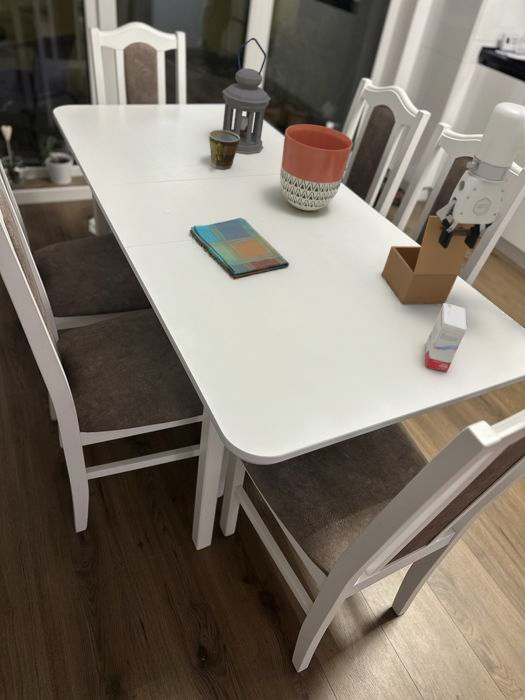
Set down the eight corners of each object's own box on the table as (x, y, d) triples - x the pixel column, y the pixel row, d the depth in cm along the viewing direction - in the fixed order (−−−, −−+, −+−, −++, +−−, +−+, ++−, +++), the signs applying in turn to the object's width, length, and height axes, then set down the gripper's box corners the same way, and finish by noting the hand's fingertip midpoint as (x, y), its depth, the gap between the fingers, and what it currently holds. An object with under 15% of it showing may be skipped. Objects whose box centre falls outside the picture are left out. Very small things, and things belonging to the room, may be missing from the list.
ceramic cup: (211, 157, 185) (214, 127, 179) (239, 163, 185) (243, 134, 178) (200, 171, 175) (202, 140, 169) (230, 177, 175) (233, 147, 168)
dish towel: (243, 224, 153) (244, 215, 151) (290, 267, 139) (291, 258, 137) (188, 233, 144) (189, 224, 142) (232, 280, 130) (233, 271, 129)
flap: (429, 215, 121) (439, 222, 117) (475, 217, 124) (486, 223, 121) (413, 273, 128) (422, 281, 125) (457, 273, 131) (468, 280, 128)
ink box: (446, 373, 116) (468, 331, 108) (423, 367, 116) (443, 324, 109) (446, 349, 122) (466, 307, 115) (424, 343, 123) (443, 301, 115)
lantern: (264, 141, 204) (280, 37, 182) (260, 157, 191) (277, 48, 169) (221, 133, 204) (231, 28, 181) (214, 149, 191) (224, 38, 168)
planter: (310, 188, 178) (325, 122, 164) (347, 216, 166) (366, 147, 152) (261, 195, 168) (272, 125, 154) (297, 225, 157) (312, 153, 143)
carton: (381, 274, 143) (391, 246, 138) (422, 274, 146) (433, 246, 141) (402, 304, 134) (413, 275, 128) (445, 303, 137) (458, 275, 131)
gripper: (461, 174, 105) (429, 253, 117) (534, 178, 110) (496, 254, 122) (443, 158, 111) (414, 236, 122) (514, 163, 115) (479, 237, 127)
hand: (455, 244), depth 122 cm, fingers closed on flap, 6 cm apart
